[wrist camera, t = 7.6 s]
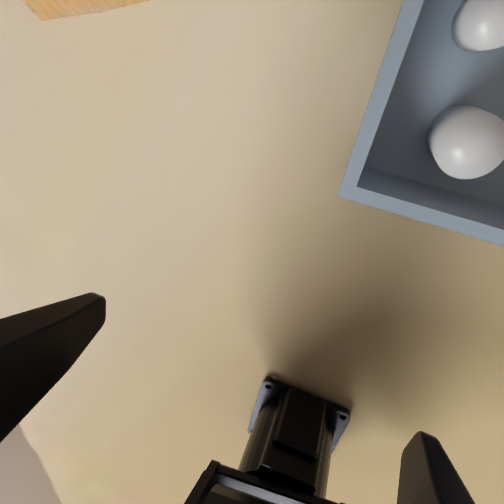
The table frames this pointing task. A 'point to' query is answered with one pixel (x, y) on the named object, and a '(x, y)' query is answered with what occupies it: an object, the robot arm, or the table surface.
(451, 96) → the tub
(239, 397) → the table surface
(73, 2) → the sandwich container
